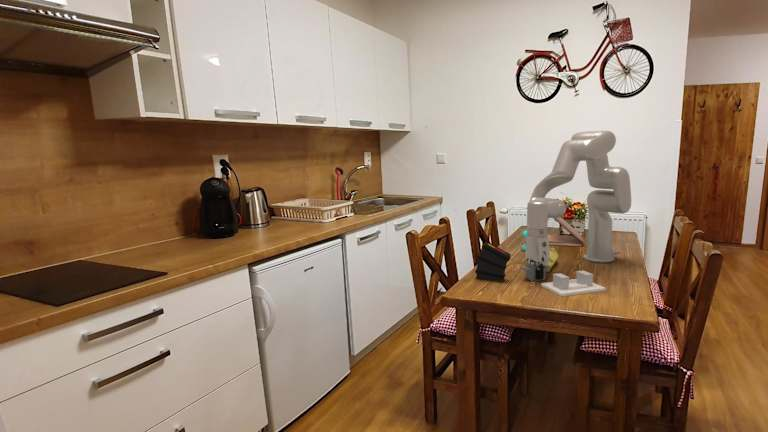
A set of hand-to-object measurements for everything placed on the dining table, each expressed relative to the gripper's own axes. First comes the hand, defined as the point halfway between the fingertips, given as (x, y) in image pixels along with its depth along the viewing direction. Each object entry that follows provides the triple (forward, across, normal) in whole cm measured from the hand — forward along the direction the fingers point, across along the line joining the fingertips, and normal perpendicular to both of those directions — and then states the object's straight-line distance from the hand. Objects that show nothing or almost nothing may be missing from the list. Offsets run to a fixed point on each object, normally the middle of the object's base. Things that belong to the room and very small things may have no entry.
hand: (535, 276), depth 164 cm
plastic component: (+1, +15, -13) cm, 20 cm away
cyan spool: (+1, +39, -24) cm, 46 cm away
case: (+1, +51, -49) cm, 71 cm away
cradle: (+1, -14, -6) cm, 15 cm away
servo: (+1, 0, 0) cm, 1 cm away
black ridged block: (+1, +5, +16) cm, 17 cm away
